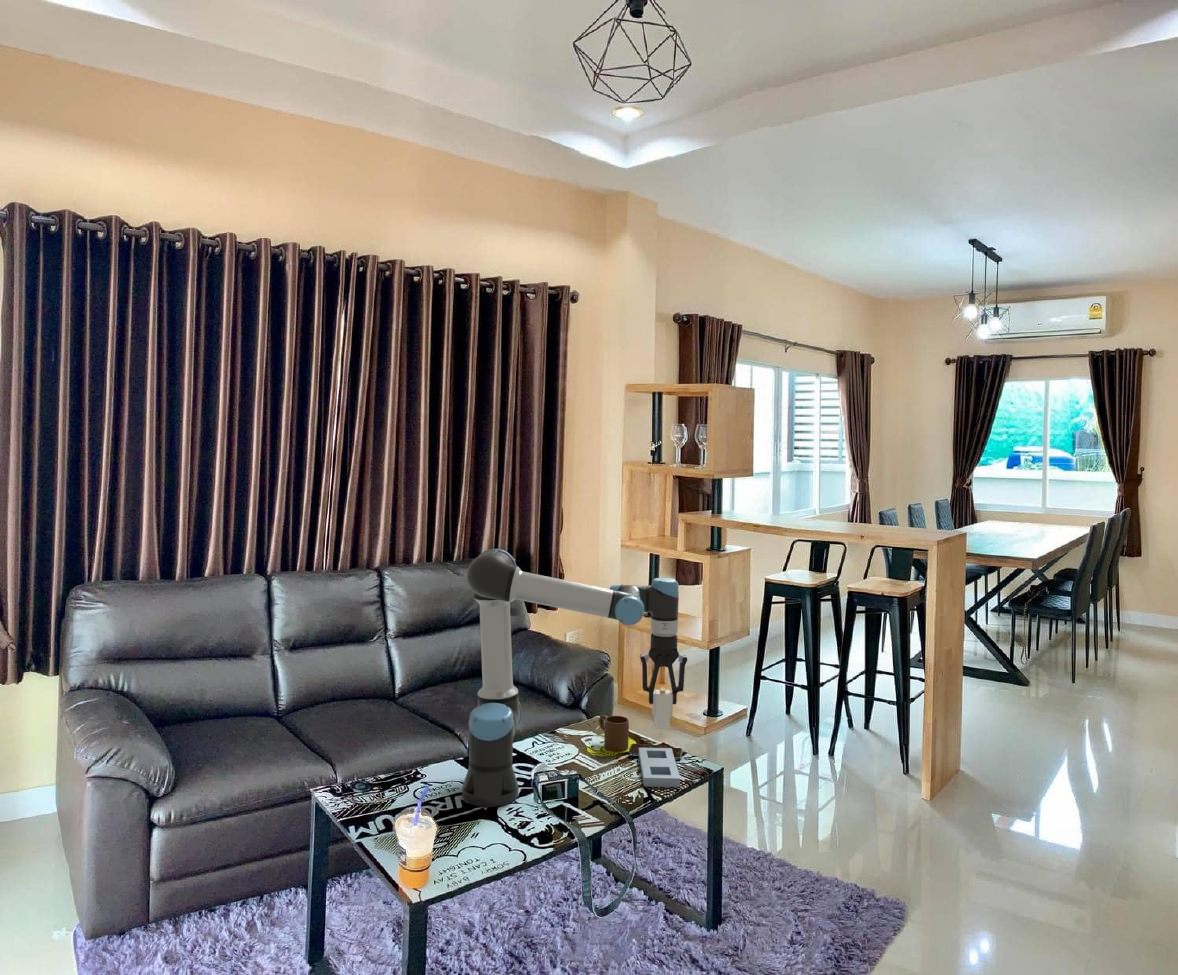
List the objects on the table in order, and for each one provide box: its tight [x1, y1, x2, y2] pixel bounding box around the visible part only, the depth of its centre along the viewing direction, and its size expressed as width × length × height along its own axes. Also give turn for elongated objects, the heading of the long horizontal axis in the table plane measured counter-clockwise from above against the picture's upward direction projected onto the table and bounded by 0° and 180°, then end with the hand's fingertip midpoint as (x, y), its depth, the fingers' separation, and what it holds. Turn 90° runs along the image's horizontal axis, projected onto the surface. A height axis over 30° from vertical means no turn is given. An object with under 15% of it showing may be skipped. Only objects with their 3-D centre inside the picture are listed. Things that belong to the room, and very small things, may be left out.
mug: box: [598, 714, 630, 753], centre depth 254 cm, size 12×8×9 cm, turn 39°
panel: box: [638, 747, 681, 788], centre depth 236 cm, size 10×22×3 cm, turn 0°
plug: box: [653, 687, 671, 730], centre depth 229 cm, size 4×4×11 cm
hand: (662, 714), depth 229 cm, fingers closed on plug, 4 cm apart
